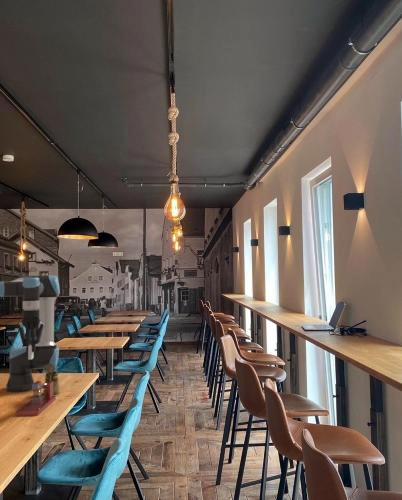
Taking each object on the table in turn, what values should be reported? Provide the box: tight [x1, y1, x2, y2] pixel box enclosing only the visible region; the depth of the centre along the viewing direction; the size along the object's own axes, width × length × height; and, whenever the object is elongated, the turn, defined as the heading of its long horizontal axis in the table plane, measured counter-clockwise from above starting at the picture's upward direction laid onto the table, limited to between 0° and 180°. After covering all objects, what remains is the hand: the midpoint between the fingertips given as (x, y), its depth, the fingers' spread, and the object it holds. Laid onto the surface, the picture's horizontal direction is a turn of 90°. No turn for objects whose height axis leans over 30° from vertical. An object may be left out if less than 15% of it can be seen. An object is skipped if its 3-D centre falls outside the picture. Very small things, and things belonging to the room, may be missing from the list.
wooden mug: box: [42, 363, 61, 396], centre depth 232 cm, size 9×14×18 cm, turn 8°
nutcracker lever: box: [22, 383, 46, 391], centre depth 208 cm, size 23×4×2 cm, turn 1°
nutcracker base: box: [15, 380, 57, 417], centre depth 210 cm, size 25×10×10 cm, turn 1°
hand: (30, 358), depth 205 cm, fingers closed
